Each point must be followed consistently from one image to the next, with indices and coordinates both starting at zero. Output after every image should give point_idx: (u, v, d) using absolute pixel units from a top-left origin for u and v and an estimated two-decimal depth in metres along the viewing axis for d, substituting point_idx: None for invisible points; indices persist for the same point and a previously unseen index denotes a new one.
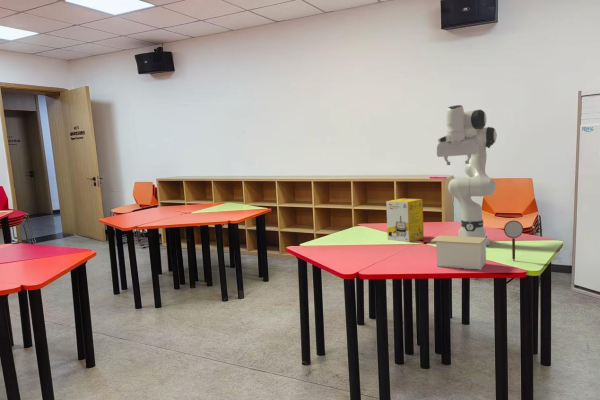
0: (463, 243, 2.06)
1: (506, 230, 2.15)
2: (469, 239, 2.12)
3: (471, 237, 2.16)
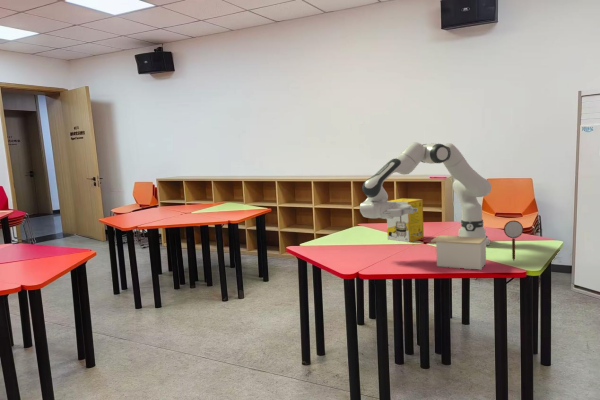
0: (463, 243, 2.06)
1: (506, 230, 2.15)
2: (469, 239, 2.12)
3: (471, 237, 2.16)
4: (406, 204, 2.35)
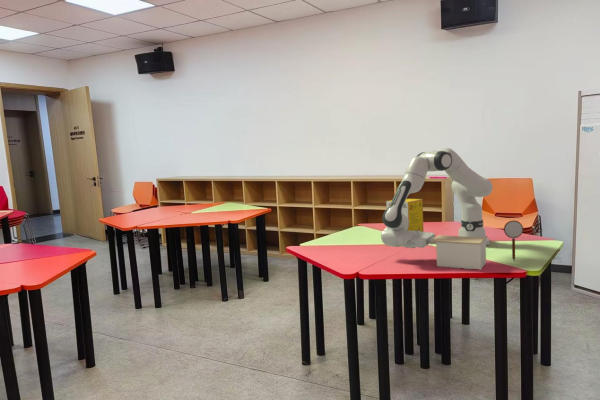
0: (463, 243, 2.06)
1: (506, 230, 2.15)
2: (469, 239, 2.12)
3: (471, 237, 2.16)
4: (429, 232, 2.31)
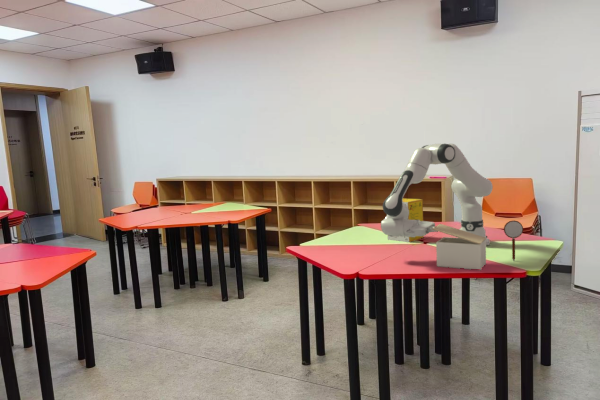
0: (464, 239, 2.06)
1: (506, 230, 2.15)
2: (470, 236, 2.11)
3: (472, 234, 2.16)
4: None
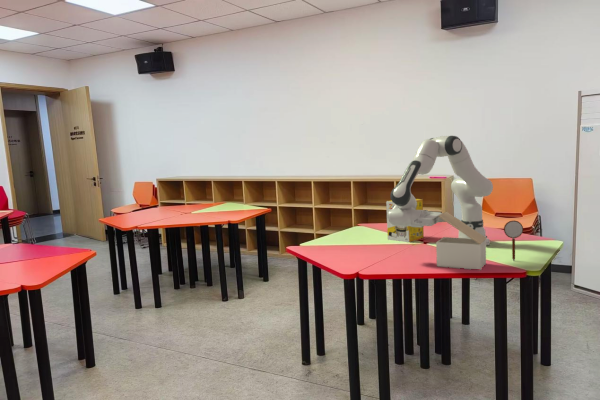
0: None
1: (506, 230, 2.15)
2: (472, 232, 2.11)
3: (474, 230, 2.15)
4: (437, 212, 2.27)
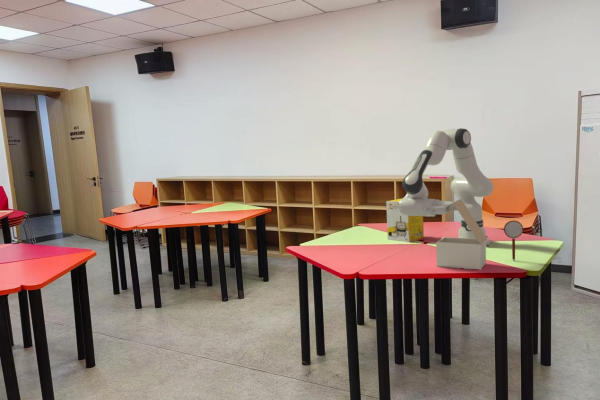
0: (471, 230, 2.04)
1: (506, 230, 2.15)
2: (477, 229, 2.09)
3: (479, 227, 2.14)
4: (448, 201, 2.23)
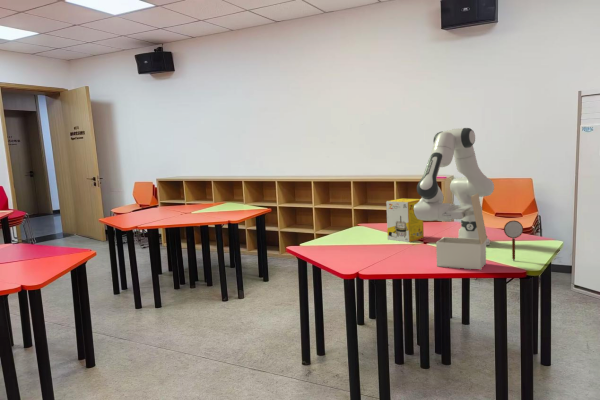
0: (477, 229, 2.02)
1: (506, 230, 2.15)
2: (482, 228, 2.08)
3: (484, 226, 2.12)
4: (464, 205, 2.19)
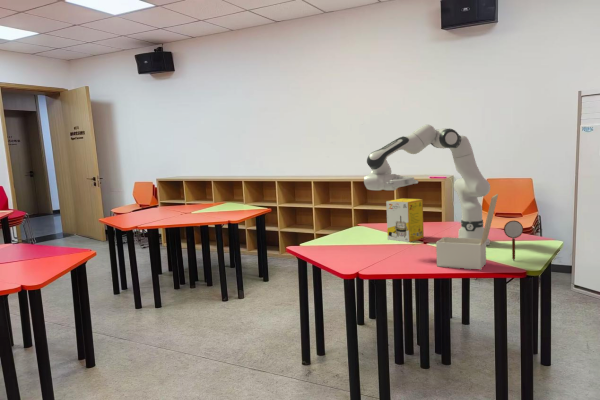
0: (484, 229, 2.01)
1: (506, 230, 2.15)
2: (487, 229, 2.07)
3: (489, 227, 2.11)
4: None
